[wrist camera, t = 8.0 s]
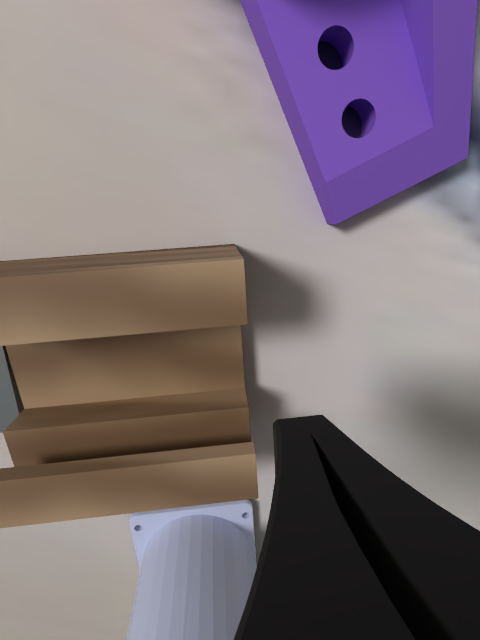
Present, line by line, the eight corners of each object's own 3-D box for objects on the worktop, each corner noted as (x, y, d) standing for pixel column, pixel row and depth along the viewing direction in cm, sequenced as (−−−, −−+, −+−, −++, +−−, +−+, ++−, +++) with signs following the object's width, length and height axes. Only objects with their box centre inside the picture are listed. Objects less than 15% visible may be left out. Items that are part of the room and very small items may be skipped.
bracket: (221, -43, 14) (229, -253, 8) (371, -131, 14) (514, -432, 7) (325, 223, 18) (389, 231, 12) (446, 161, 18) (585, 133, 11)
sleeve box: (246, 425, 21) (258, 498, 16) (47, 446, 20) (-12, 529, 15) (233, 244, 18) (243, 258, 12) (-7, 261, 17) (-107, 285, 12)
